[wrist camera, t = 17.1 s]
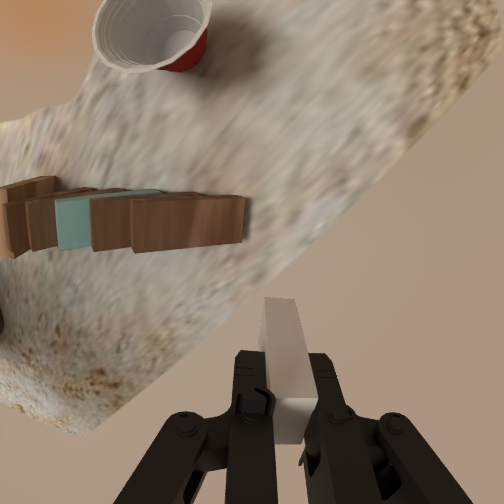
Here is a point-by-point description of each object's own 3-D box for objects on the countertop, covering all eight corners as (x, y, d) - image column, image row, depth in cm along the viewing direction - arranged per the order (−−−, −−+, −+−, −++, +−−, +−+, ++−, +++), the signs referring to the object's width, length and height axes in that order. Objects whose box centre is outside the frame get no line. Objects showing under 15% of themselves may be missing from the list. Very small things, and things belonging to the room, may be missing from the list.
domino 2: (117, 227, 35) (29, 246, 26) (117, 187, 34) (25, 201, 25) (125, 230, 34) (32, 251, 25) (124, 189, 33) (27, 204, 24)
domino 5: (233, 237, 36) (131, 246, 30) (236, 195, 34) (130, 199, 28) (241, 242, 34) (134, 253, 28) (245, 198, 32) (133, 202, 26)
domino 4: (191, 233, 36) (91, 245, 29) (192, 191, 34) (88, 199, 27) (198, 238, 34) (93, 252, 27) (200, 194, 32) (90, 202, 25)
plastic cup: (119, 63, 28) (66, 38, 17) (179, 0, 26) (150, -49, 14) (181, 111, 31) (144, 96, 20) (246, 44, 28) (242, -1, 17)
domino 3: (161, 191, 32) (56, 202, 25) (160, 234, 34) (60, 251, 26) (153, 189, 34) (54, 199, 26) (153, 229, 36) (58, 245, 28)
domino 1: (86, 224, 35) (7, 248, 25) (85, 187, 34) (1, 204, 23) (94, 227, 35) (11, 252, 24) (92, 188, 33) (6, 206, 23)
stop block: (43, 231, 36) (-1, 256, 26) (40, 176, 33) (-9, 189, 24) (58, 233, 36) (14, 258, 26) (55, 175, 33) (6, 189, 24)
